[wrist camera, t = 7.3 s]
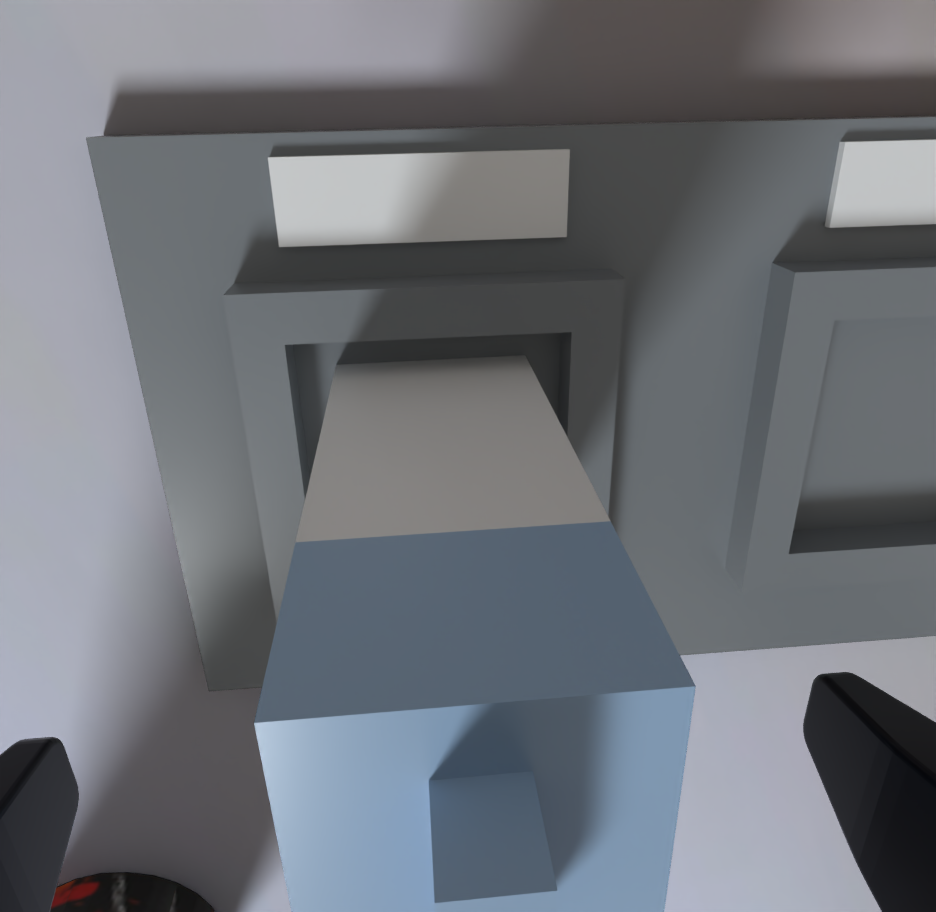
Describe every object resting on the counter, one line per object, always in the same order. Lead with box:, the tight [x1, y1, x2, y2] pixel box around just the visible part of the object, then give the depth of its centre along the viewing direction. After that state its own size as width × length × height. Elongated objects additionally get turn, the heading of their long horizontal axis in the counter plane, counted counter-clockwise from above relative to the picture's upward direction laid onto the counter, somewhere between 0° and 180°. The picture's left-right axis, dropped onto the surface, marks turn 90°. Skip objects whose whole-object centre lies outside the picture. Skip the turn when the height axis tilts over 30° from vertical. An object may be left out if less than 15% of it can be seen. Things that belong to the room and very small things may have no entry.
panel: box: [86, 116, 936, 691], centre depth 17 cm, size 23×13×2 cm, turn 91°
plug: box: [254, 355, 696, 912], centre depth 12 cm, size 4×4×11 cm
